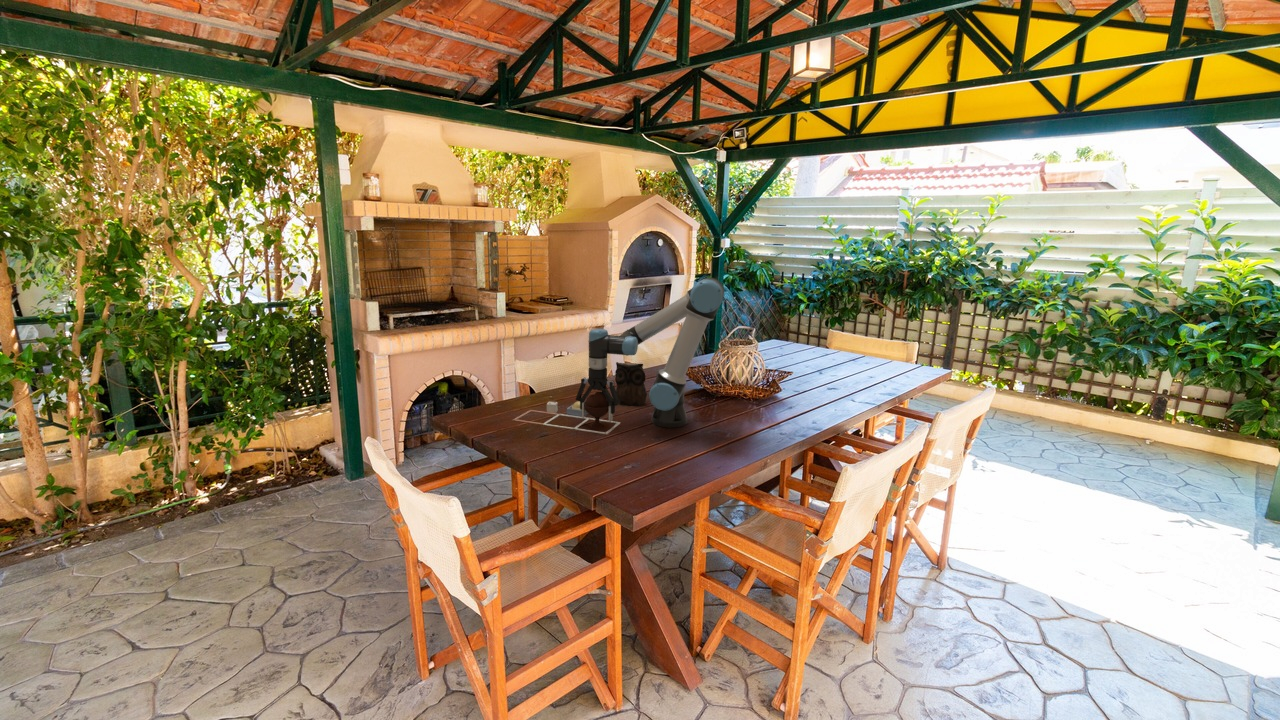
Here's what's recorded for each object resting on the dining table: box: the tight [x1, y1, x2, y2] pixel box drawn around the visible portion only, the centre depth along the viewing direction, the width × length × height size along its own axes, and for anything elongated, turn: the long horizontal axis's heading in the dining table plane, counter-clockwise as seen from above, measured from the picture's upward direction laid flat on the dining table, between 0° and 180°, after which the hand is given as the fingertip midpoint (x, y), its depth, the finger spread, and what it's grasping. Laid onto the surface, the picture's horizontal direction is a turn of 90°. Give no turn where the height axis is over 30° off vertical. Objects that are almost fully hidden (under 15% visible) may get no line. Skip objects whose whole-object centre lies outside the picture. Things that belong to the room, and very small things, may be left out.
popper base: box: [566, 403, 589, 417], centre depth 256 cm, size 8×8×3 cm
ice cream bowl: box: [584, 391, 610, 429], centre depth 239 cm, size 11×11×15 cm
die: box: [546, 401, 559, 413], centre depth 258 cm, size 4×4×4 cm
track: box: [512, 409, 622, 435], centre depth 245 cm, size 15×43×1 cm, turn 71°
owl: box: [614, 361, 648, 407], centre depth 270 cm, size 13×13×20 cm
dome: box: [572, 400, 581, 410], centre depth 255 cm, size 6×6×5 cm
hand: (597, 419), depth 240 cm, fingers closed on ice cream bowl, 11 cm apart
